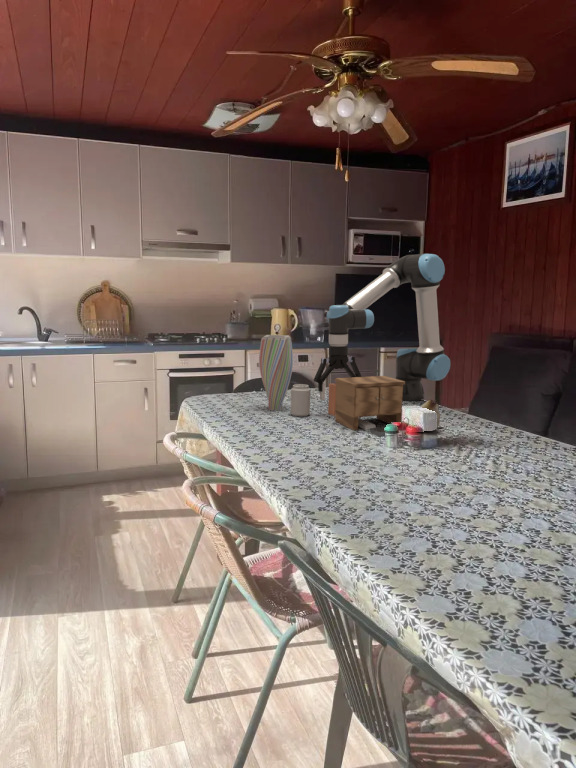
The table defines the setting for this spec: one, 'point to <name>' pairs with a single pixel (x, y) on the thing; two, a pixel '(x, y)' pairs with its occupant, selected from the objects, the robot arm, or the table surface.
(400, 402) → the cabinet
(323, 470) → the table surface
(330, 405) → the orange upright piece
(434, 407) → the fruit
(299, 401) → the grey jar
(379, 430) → the token
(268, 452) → the table surface
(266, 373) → the vase
